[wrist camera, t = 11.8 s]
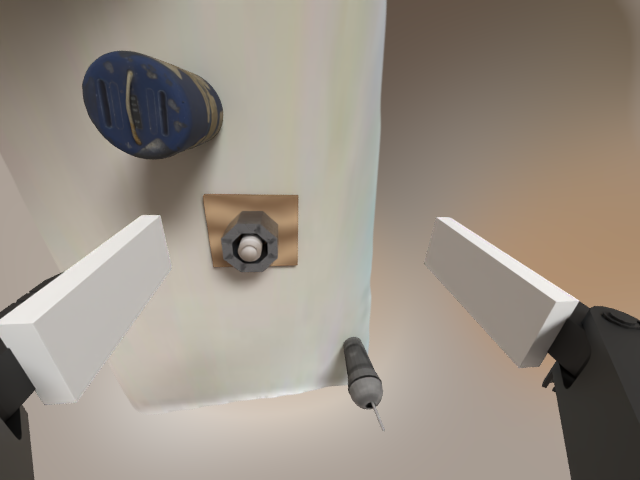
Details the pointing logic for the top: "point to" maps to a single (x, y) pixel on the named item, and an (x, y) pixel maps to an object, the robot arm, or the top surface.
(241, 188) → the top surface
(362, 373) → the beverage cup
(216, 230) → the post block
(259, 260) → the ring
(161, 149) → the canister
